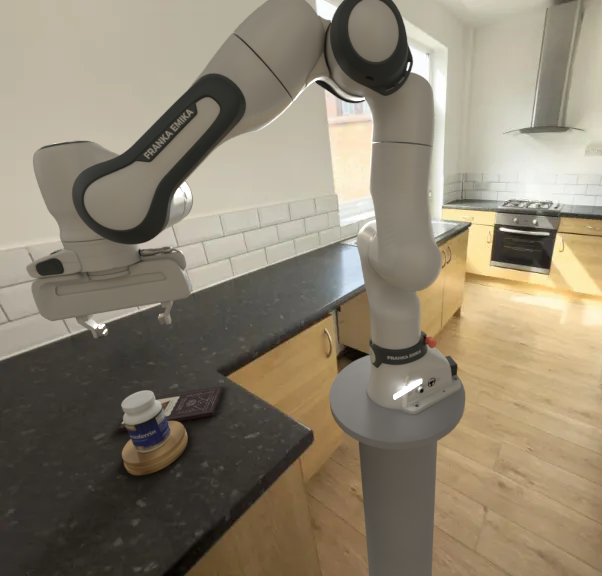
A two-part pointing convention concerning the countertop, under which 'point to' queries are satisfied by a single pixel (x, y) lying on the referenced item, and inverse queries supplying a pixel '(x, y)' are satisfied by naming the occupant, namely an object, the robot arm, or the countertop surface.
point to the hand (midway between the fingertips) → (135, 329)
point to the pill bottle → (145, 421)
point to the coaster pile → (156, 452)
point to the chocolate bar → (188, 405)
